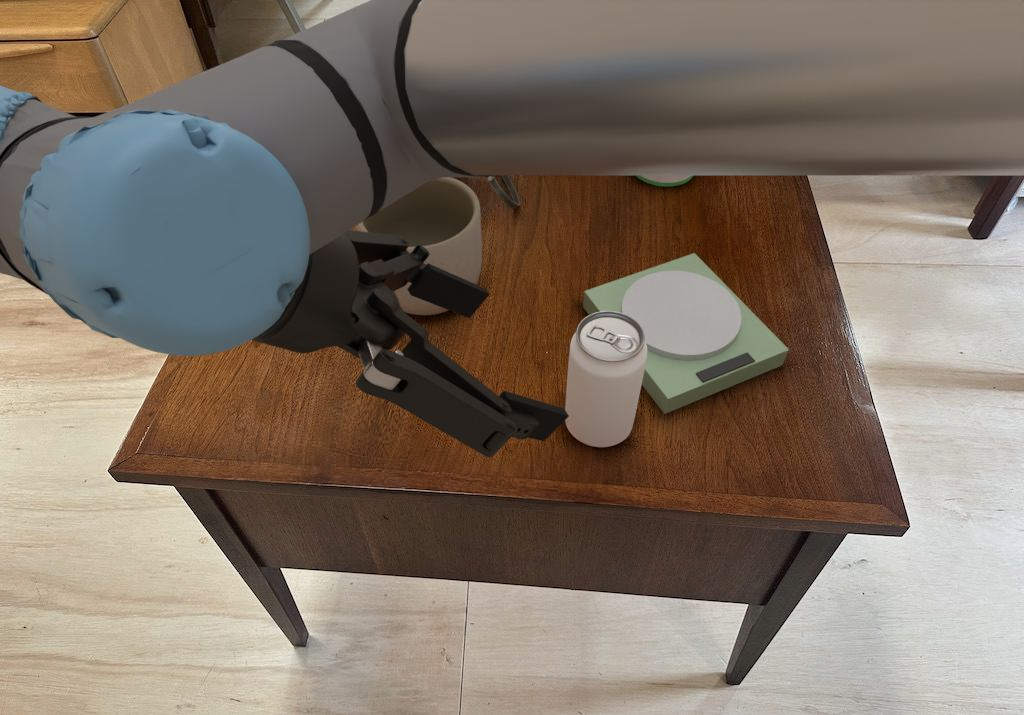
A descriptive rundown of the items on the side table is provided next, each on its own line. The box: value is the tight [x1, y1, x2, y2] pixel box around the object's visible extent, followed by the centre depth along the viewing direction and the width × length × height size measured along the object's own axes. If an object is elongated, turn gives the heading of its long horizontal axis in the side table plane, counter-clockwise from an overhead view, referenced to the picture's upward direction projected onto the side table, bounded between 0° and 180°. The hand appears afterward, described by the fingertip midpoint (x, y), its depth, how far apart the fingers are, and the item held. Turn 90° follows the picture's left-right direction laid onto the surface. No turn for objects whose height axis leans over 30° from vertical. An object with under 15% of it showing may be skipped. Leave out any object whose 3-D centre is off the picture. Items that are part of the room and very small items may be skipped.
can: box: [564, 311, 647, 448], centre depth 62 cm, size 6×6×12 cm
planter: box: [356, 177, 483, 316], centre depth 75 cm, size 12×12×11 cm
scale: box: [582, 252, 790, 415], centre depth 73 cm, size 16×14×3 cm
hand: (513, 359), depth 54 cm, fingers open, 13 cm apart
